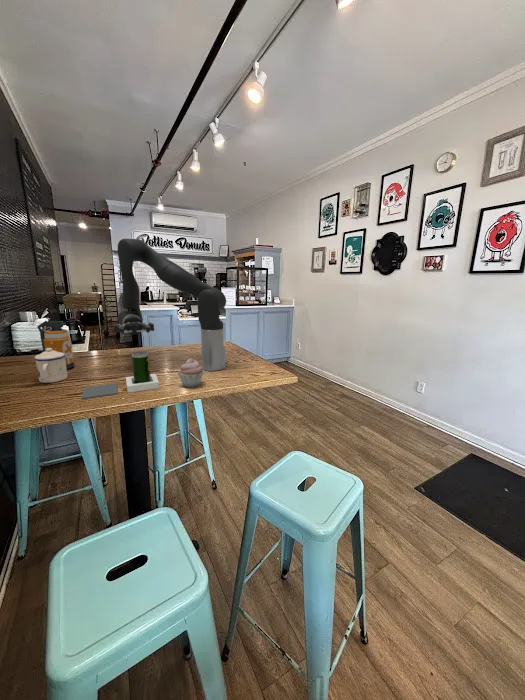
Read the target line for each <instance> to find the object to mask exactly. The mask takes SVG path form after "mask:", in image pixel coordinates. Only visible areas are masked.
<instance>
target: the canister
mask: <svg viewBox="0 0 525 700" xmlns="http://www.w3.org/2000/svg"><path fill="white" fill-rule="evenodd" d="M66 325H67V322H65V321H63V320H58V321H57V320H51V319H49V320H45V321H43V322H42V323H40V324H38V325H37V326H36V327H37V329H38V331H39V336H40V341H41V346H42V352H45V351H46V349H47V348H52V350H53V351H57V352H62V353H64V354H65V362H66V369H67V370H69V369H71V368H73V367H74V366H75V360H74V359H75V358H74V352H73V346H72V345H73V344H72V338H71V336H70V335H69V331H68V330H67V329H66V328H65V329H64V326H66Z"/></svg>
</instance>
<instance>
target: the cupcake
mask: <svg viewBox="0 0 525 700" xmlns="http://www.w3.org/2000/svg"><path fill="white" fill-rule="evenodd" d="M204 374H205V370H203V369H202V365H200V362H199V361H197V360H196V359H194V358H192V357H191V358H189V359H187V360H186V361H185V363H183V364H181V366H180V370H179V371H178V372H177V375H178V377H179V378H180V381H181V385H182V386H183V387H184V388H195V387H199V386H201V383H202V378H203V376H204Z"/></svg>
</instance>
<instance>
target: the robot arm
mask: <svg viewBox="0 0 525 700" xmlns="http://www.w3.org/2000/svg"><path fill="white" fill-rule="evenodd" d="M117 257H118V263H119V264H118V265H119V270H120V275H121V281H122V284H121V285H122V305H123V307H125V308H127V309H131V310H133V311H127V310H123V311H120V312H119V313H118V315H117V321H118V323H114V325H113V331H114V333H115V334H117V333H118V332H119V333H120V334H122V335H124V334H126V333H127V334H129V335H133V336H134V335H135V336H136V335H138V334H140V333H145V332H146V333H147V334H148V333H149V334H150V332H154V331H155V325H154V323H152V322H148V323H147V324H146V323H145V322H144V319H143V318H144V317H143V315H142V311H141V308H140V307H141V306H140V286H139V284H138V282H137V280H136V277H135V275H134V271H133V267H134V262H140V263H143V264H145V265H147V266H149V267H150V268H152V269H153V270H154V272H155V274H156V276H157V277H158V279H159V280H160V281H162V282H163V283H164V284H166V285H168V286H169V287H171V288H173V289H174V290H177V291H180V292H182V293H186V294H188V295H191V296H193V297H195V298H196V300H197V304H196V305H197V306H196V307H197V316H198V321H199V324H200V342H201V344H200V345H201V346H200V347H201V367H202V370H204V371H207V372H208V371H209V372H216V371H221V370H223V369H226V346H224V322H223V321H222V320H221V318H220V311H221V310H223V309H224V308H225V307H226V305H227V297H226V296H225V294H224V292H223V291H222V290H220V289H218V288H216V287H213V286H212V285H210V284H208V283H205V282H204V281H202V280H200V279H199V278H198V277H196V276H195V275H194V274H192V273H190V272H189V271H188V270H186V269H184V268H183V267H182V266H180V265H178V264H177V263H176V262H174V261H172V260H170V259H169V258H167V257H165V256H164V255H162V254H160V253H158V252H157V251H156V250H154V249H153V248H152V247H151V246H150V245H149V244H147V243H146V242H144V241H143V240H141V239H138V238H121V239H120V240H119V241H118V243H117Z"/></svg>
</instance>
